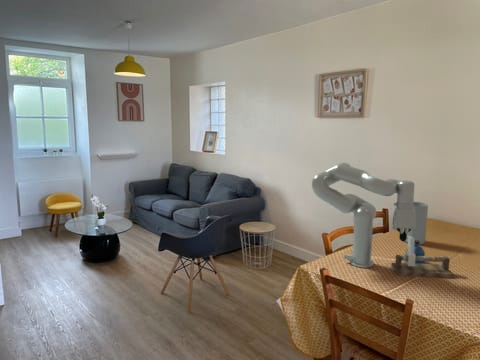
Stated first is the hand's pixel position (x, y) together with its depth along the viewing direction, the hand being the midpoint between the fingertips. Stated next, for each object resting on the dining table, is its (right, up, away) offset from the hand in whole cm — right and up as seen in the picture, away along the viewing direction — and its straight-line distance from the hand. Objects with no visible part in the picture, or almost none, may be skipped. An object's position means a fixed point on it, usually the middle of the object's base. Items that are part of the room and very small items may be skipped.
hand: (402, 240), depth 181 cm
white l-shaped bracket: (+4, -12, +2) cm, 13 cm away
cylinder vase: (+29, -9, +48) cm, 57 cm away
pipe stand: (+10, -16, +2) cm, 19 cm away
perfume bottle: (+14, -14, +15) cm, 25 cm away
